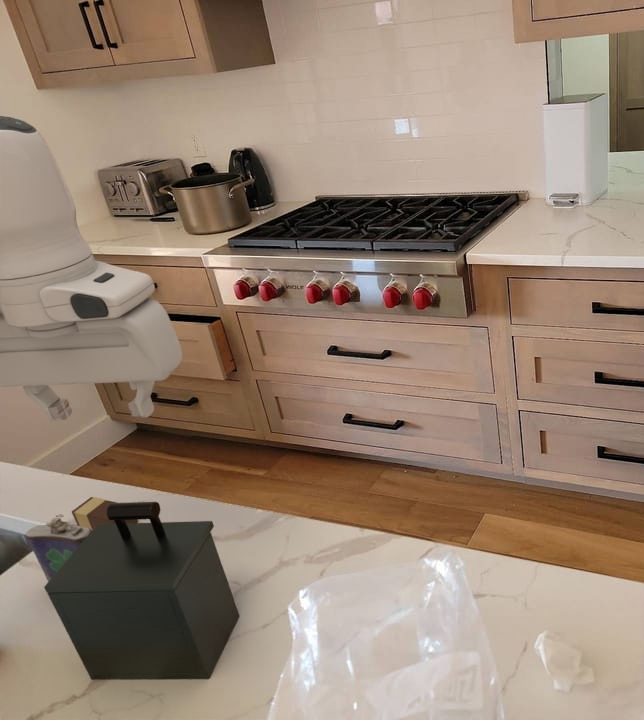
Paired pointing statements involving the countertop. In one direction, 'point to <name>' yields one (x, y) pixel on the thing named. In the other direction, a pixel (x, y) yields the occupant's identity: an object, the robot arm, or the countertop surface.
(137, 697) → the countertop surface
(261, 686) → the countertop surface
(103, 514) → the chocolate
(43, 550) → the flask
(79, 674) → the countertop surface
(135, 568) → the bin lid
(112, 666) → the bin
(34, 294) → the robot arm
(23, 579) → the countertop surface
